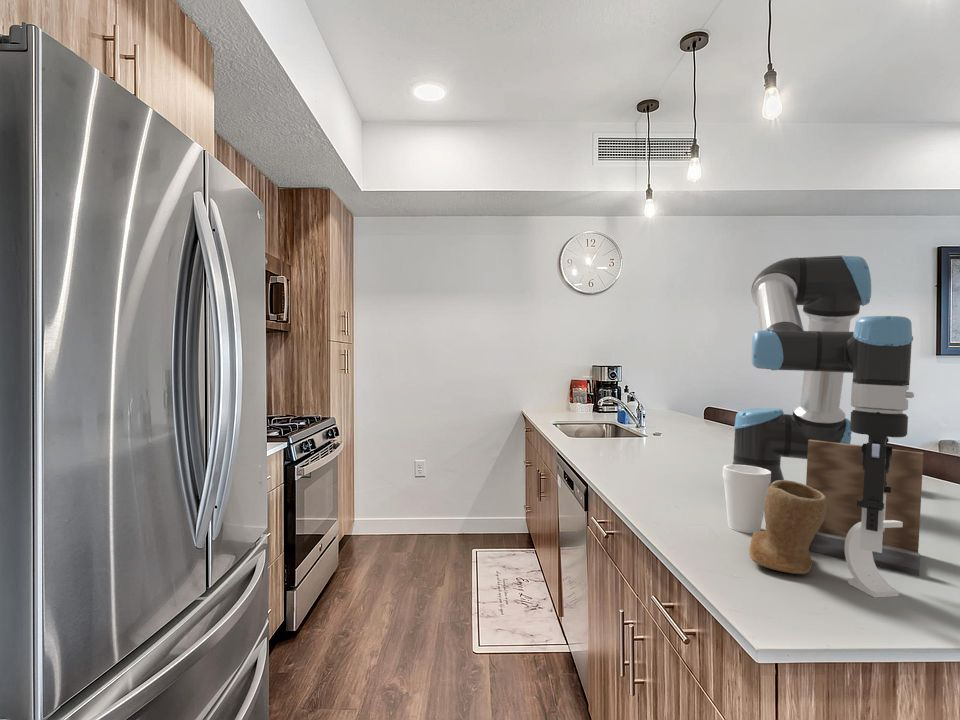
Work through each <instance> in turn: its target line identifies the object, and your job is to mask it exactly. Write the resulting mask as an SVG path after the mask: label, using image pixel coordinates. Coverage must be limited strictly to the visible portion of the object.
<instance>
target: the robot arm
mask: <svg viewBox="0 0 960 720" xmlns="http://www.w3.org/2000/svg"><path fill="white" fill-rule="evenodd" d="M750 291H751V298H752V301H753V303H754V304H755V306H757V310H758V312H757V313H758V319H759V327H760V328H759V329H760V330H758V331H755V332H754V333H753V334H752V338H751V339H752V340H751V364H752V366H753V367H755V369H756V368H757V369H763V370H764V369H765V370H771V371H796V372H797V371H800V372H801V371H802V372H803V377H802V378H803V379H802V385H801V387H802V388H801V395H800V396H801V397H800V403H799V404H797V405H795V406H794V407H793V410H792V414H786V413H784V411H783V409H782V408H779V407H778V408H777V407H760V408H759V407H758V408H746V409H741V410H740V411H738V412H737V413H736V415H735V420H734V426H733V428H734V440H733V441H734V442H733V457H732V459H733V461H732V463H731V465H748V466H754V467H760V468H763V469H767V470H769V471H771V483H773V482H774V481H777V480H785V478H784V474H783V472H782V468H781V459H782V458H790V459H802V460H807V455H808V440H818V441H826V442H835V443H844V444H851V442H852V432H853V433H854V434H858V435H867V436H868V441H867V442H866V443H862V445H861V446H862V456H863V463H862V467H863V470H864V471H865V474H864V488H863V499H862V501H857V507H862V517H861V539H860V549H864V550H869V551H874V552H879V553H882V540H883V532H884V531H885V528H883V520H885V510H886V493H891V487H887V486H886V485H887V482H886V474H887V473H889V467H890V460H891V459H892V449H893V446H890V445H888V442H889V438H905V437H906V436H908V428H909V427H908V426H909V416H908V415H907V413H904V411H905V412H906V411H908V409H909V399H913V398H914V397H915V394H914V392H912V391H909V389H910V380H911V379H910V378H911V363H912V360H911V358H912V346H913V345H912V343H913V341H914V336H913V329H912V328H913V327H912V326H913V325H912V324H913V323H912V320H911V318H908V317H906V316H901V315H899V316H898V315H875V316H874V315H872V316H871V315H870V316H862V317H859V318H858V319H857V320H856V321H855V326H854V331H850V327H851V321H852V319H853V318H855V317H857V316H858V315H859V314H860V309H861V306H863V307H864V306H867V305H869V304H870V302H871V298H872V278H871V272H870V268H869V264H868V262H867V261H866V259H864V257H862V256H860V255H857V256H856V255H854V256H853V255H842V254H841V255H829V256H827V255H826V256H808V257H807V256H806V257H799V256H798V257H797V256H796V257H790V258H789V257H788V258H784V259H780V260H778V261H776V262H773V263H772V264H770V265H769V266H767V267H765V268H764V269H762V270H761V271H760V272H759V274H757V276H756V277H755V278H754V280H753V283H752V284H751V290H750ZM798 306H802V312H803V314H804V315H806V316H807V317H808V326H807V328H808V329H807V330H805V329H804V326H803V322H802V319H801V316H800V312H799V309H798ZM844 373H849V374H852V381H851V382H852V383H851V390H850V391H851V393H850V405H851V407H854V409H852V411H851V412H850V419H848V418H847V417H846V413H845V412H844V411H843V409H841V408H840V406H841V398H842V390H843V389H842V388H843V382H844ZM771 483H770V485H771ZM770 485H769V486H770ZM884 492H886V493H884Z"/></svg>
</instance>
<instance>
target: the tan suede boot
mask: <svg viewBox="0 0 960 720" xmlns="http://www.w3.org/2000/svg"><path fill="white" fill-rule="evenodd" d="M827 504H828V502H827V498H826V496H825V495H824V494H823V493H821V492H820V491H818V490H816V489H813V488H812V487H810V486H807V485H806V484H804V483H802V482H801V483H800V482H798V481H793V480H787V479H784V480H777V481H774V482H773V483H771V485H770V486H769V488H768V491H767V495H766V501H765V507H764V514H763V516H764V520H765V521H764V522H765V530H760V531H758V532H755V533H752V535H751V539H750V545H749V548H748V549H749V551H748V552H749V557H750V559H751V561H753V562H754V563H755V564H757V565H759V566H760V567H764V568H767V569H771V570H774V571H777V572H782V573H787V574H797V575H805V574H808V573H809V572H810V569H811V568H812V557H811V554H810V551H809V550H808V549H809V546H810V544H811V542H812V540H813V538H814V536H815V534H816V533H817V531H818V530H819V528H820V526H821V524H822V523H823V521H824V519H825V515H826V509H827Z"/></svg>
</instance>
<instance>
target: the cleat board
mask: <svg viewBox="0 0 960 720" xmlns="http://www.w3.org/2000/svg"><path fill="white" fill-rule="evenodd" d="M862 463H863V456H862V445H860V444H859V445H858V444H851V443H850V444H844V443H835V442H826V441H818V440H808V455H807V459H806V476H805V477H806V479H805V485H807V486H810V487H812V488H813V489H816V490H818V491H820V492H821V493H823V494H824V495H825V496H826V498H827V502H828V504H827V509H826V515H825V519H824V521H823V523H822V524H821V526H820V528H819V530H818V531H817V533H816V534H815V536H814V538H813V540H812V542H811V544H810V546H809V549H808V550H809V552H812V553H817V554H822V555H827V556H831V557H836V558H839V559H843V560H846V558H845V539H846V536H847V534H848V532H849V530H850V529H851V528H852V527H853V526H854V525H855V524H857V523H859V522H861V517H862V507H857V501H862V499H863V488H864V474H865V471H864V470H863V467H862ZM923 466H924V452H921V451H913V450H903V449H894V448H892V459H891V460H890V467H889V473H887V474H886V482H887V485H886V486H887V487H891V493H886V492H884V493H886V510H885V520H896V521H901V522H903V527H894V528H885V531H884V532H883V540H882V553H879V552H874V551H872V554H873V559H874V562H875V565H876V567H879V568H883V569H888V570H893V571H897V572H902V573H904V574H909V575H915V576H920V570H921V569H920V568H921V553H919V545H920V544H919V543H920V527H921V526H920V525H921V509H922V508H921V507H922V505H921V504H922V489H923V487H922V485H923V470H924V469H923V468H924V467H923Z"/></svg>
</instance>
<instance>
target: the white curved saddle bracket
mask: <svg viewBox="0 0 960 720" xmlns="http://www.w3.org/2000/svg"><path fill="white" fill-rule="evenodd" d="M894 527H903V522H901V521H896V520H883V528H894ZM860 539H861V522H859V523H857V524H855V525H854V526H853V527H852V528H851V529H850V530H849V532H848V534H847V536H846V539H845V558H846V559H845V561H846V562H845V563H846V564H847V567H848V569H849V572H850V573H851V575H852V578H851V577H850V578H847V579H848V580H847V584H849V586H852V587H854V588H855V589H858V590H859V591H861V592H864V593H865V594H867V595H869V596H871V597H872V598H887V597H888V598H889V597H899V596H900V590H898V589H896V588H895V587H893V586H892V585H891V584H889V583H888V582H887V581H886V580H885V578H884V577H883V575H881V573H880V571H879V569H878V568H877V567H878V566H876V565H875V562H874V559H873V554H872V551H869V550H864V549H860Z"/></svg>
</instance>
